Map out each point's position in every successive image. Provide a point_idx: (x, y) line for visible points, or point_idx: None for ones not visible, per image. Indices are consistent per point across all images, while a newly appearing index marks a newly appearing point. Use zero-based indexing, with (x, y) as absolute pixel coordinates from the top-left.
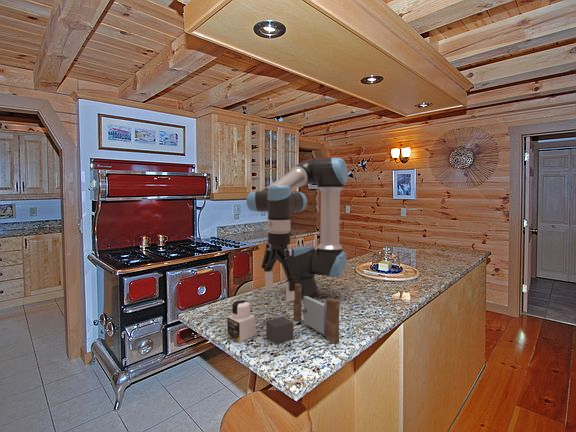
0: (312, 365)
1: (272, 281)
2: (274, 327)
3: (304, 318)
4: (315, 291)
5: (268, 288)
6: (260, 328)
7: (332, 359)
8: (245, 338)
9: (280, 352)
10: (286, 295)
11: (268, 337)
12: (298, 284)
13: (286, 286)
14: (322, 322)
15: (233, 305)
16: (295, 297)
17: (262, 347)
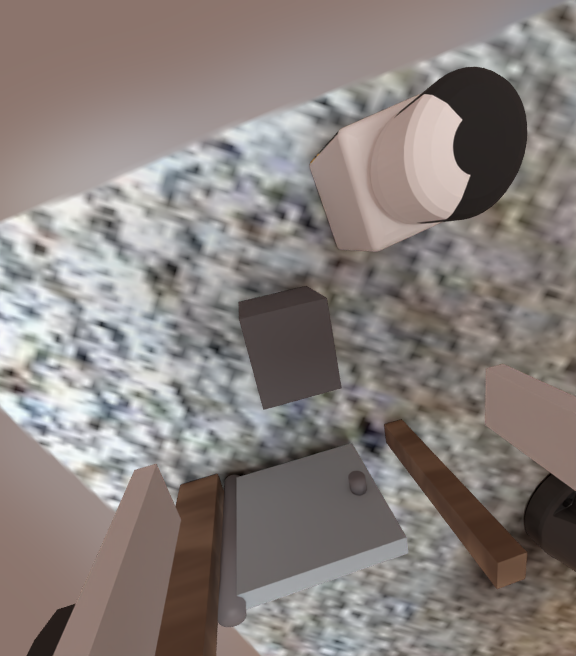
0: (45, 379)
1: (555, 471)
2: (247, 316)
3: (352, 457)
4: (544, 548)
5: (497, 394)
6: (389, 285)
7: (73, 450)
8: (320, 195)
9: (171, 301)
10: (132, 511)
11: (291, 290)
12: (511, 575)
13: (82, 644)
14: (245, 511)
15: (468, 69)
16: (451, 494)
17: (233, 246)
